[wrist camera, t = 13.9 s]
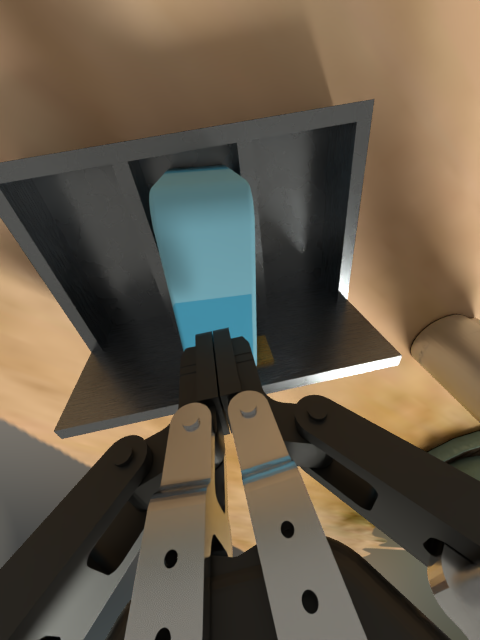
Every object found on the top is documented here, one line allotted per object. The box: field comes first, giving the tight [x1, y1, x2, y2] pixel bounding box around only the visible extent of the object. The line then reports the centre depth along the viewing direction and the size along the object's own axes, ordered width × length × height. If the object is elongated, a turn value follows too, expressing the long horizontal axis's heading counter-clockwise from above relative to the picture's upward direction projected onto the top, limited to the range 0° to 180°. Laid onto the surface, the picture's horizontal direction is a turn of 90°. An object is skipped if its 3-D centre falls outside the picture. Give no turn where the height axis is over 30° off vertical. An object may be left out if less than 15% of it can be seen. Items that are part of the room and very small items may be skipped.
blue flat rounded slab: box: [149, 165, 257, 366], centre depth 18 cm, size 12×4×12 cm, turn 3°
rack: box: [0, 99, 402, 439], centre depth 19 cm, size 25×16×14 cm, turn 98°
